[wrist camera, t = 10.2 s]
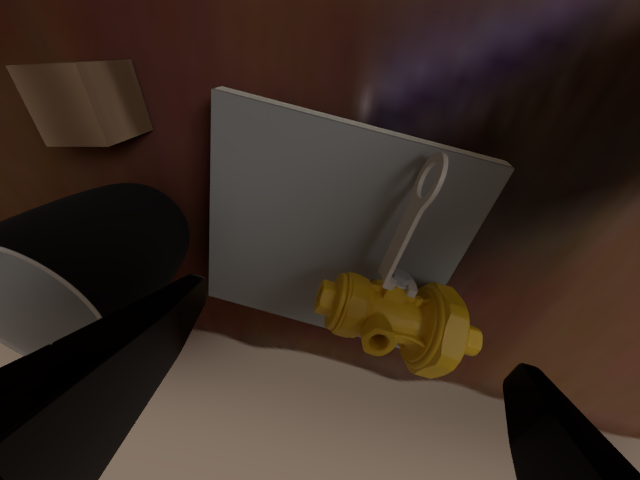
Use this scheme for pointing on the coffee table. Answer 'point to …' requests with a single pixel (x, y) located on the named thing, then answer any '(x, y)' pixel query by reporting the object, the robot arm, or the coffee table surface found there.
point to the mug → (85, 260)
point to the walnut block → (83, 102)
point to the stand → (328, 203)
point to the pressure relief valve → (403, 302)
